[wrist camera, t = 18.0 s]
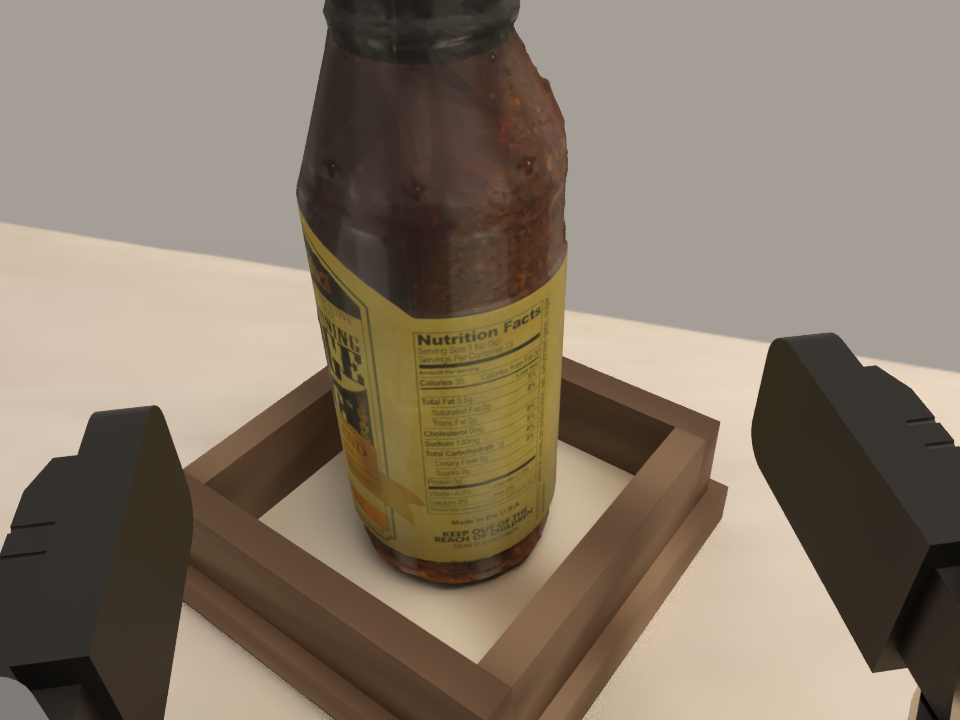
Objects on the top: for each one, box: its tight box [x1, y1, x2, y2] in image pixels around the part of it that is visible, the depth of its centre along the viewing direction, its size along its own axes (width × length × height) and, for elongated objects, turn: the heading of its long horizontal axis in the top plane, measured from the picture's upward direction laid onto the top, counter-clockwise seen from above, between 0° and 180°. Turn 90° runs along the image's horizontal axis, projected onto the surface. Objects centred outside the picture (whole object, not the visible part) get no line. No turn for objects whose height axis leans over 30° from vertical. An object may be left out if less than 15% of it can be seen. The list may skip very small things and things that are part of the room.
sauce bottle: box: [296, 0, 568, 584], centre depth 21 cm, size 7×6×20 cm
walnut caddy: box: [183, 356, 728, 720], centre depth 27 cm, size 13×13×4 cm
